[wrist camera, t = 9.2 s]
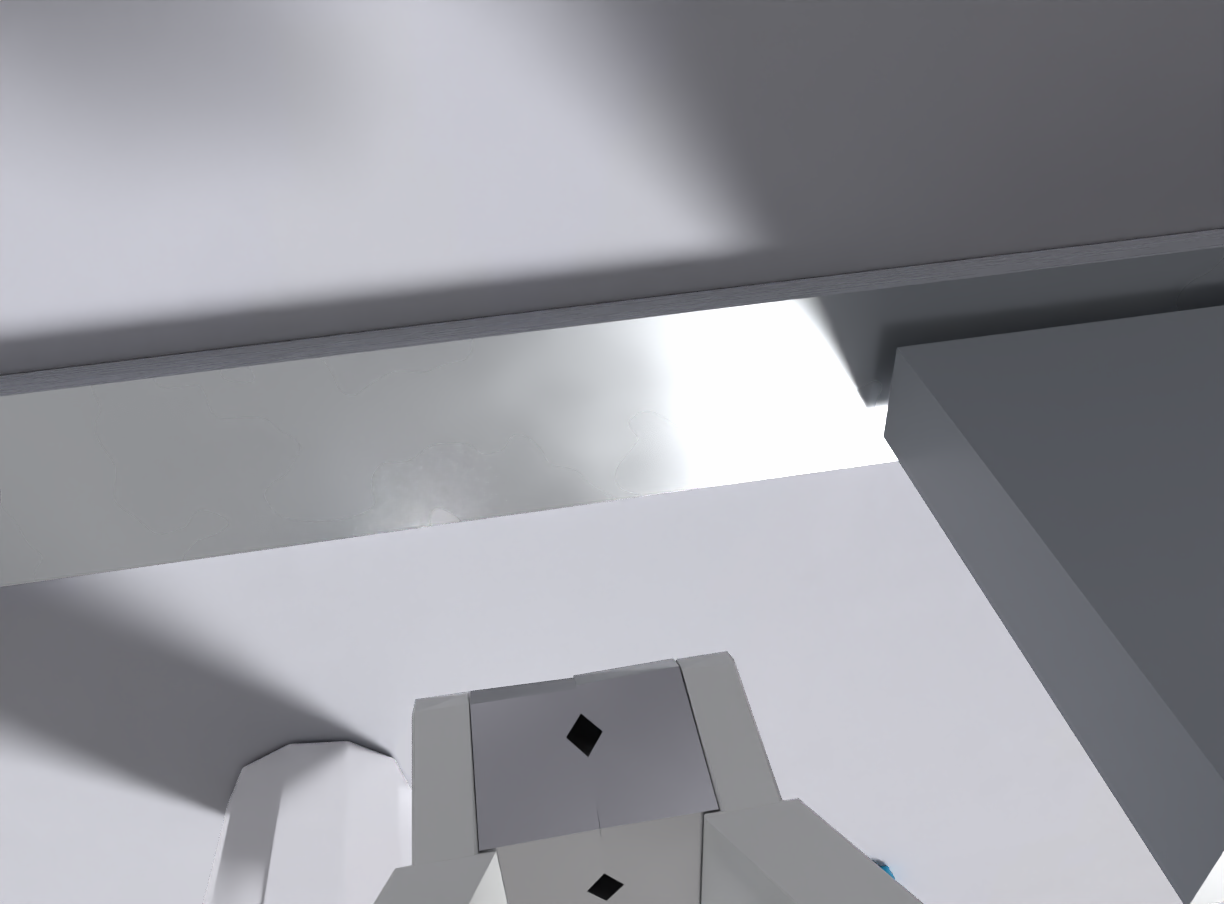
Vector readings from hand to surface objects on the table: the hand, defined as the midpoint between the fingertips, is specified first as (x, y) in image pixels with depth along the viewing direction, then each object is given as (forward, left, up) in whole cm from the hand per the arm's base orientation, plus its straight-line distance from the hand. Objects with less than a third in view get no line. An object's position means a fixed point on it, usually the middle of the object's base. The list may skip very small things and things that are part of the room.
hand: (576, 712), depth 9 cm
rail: (-5, 0, -5) cm, 7 cm away
